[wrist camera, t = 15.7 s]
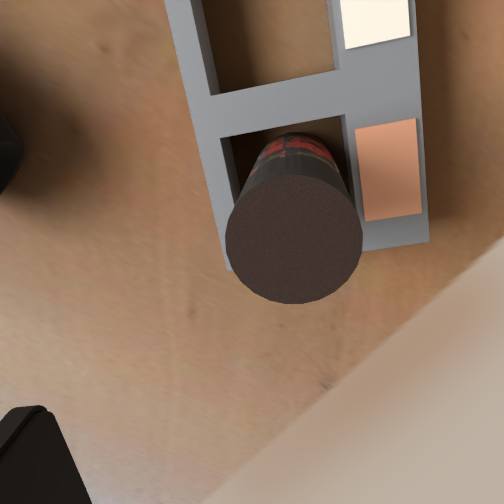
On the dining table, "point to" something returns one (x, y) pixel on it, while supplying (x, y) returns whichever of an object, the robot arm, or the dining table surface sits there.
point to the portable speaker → (8, 153)
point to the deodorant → (294, 224)
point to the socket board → (324, 113)
